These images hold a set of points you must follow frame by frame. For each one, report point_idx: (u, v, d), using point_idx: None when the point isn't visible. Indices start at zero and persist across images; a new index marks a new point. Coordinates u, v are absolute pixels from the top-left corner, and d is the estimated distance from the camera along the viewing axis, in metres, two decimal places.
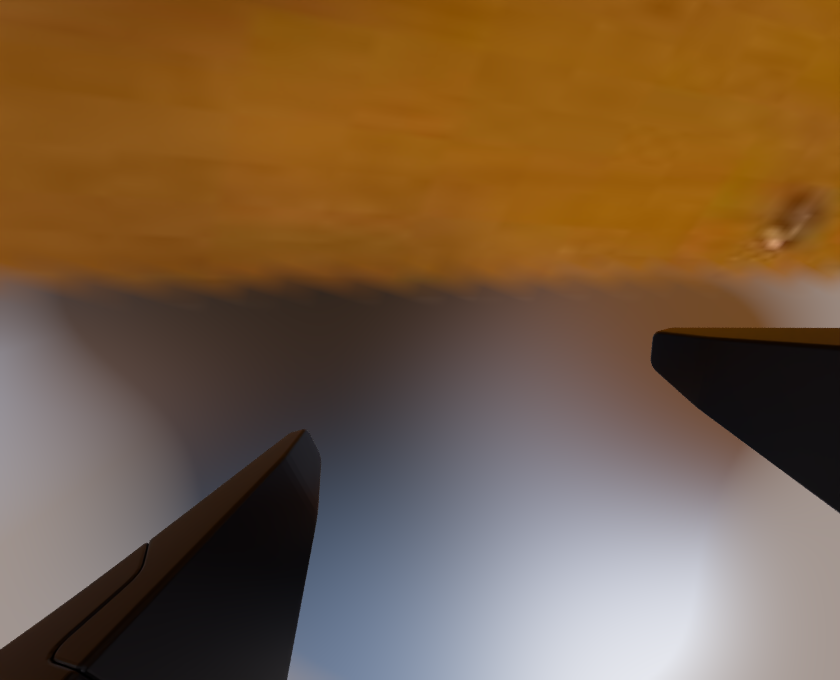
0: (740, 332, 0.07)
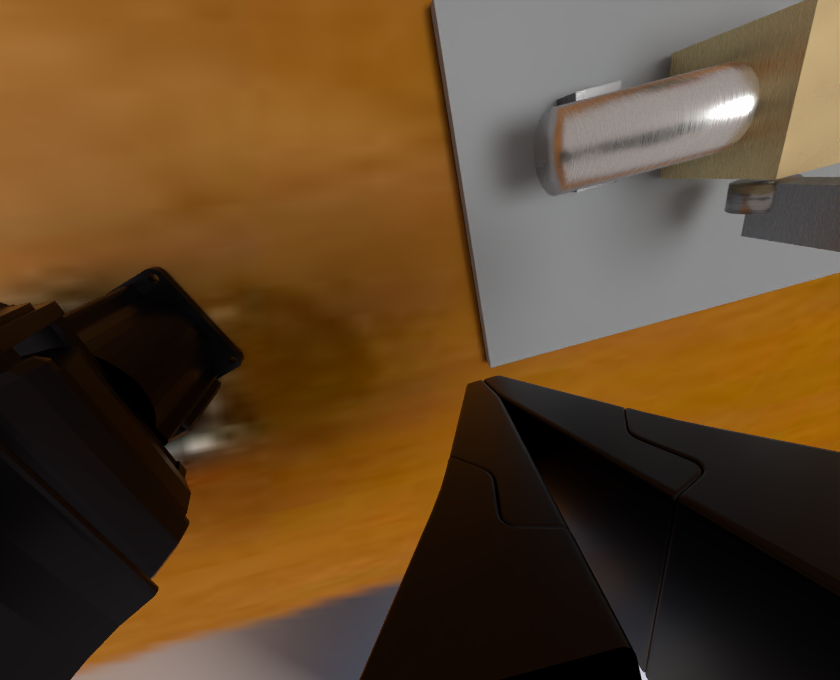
0: (526, 391, 0.07)
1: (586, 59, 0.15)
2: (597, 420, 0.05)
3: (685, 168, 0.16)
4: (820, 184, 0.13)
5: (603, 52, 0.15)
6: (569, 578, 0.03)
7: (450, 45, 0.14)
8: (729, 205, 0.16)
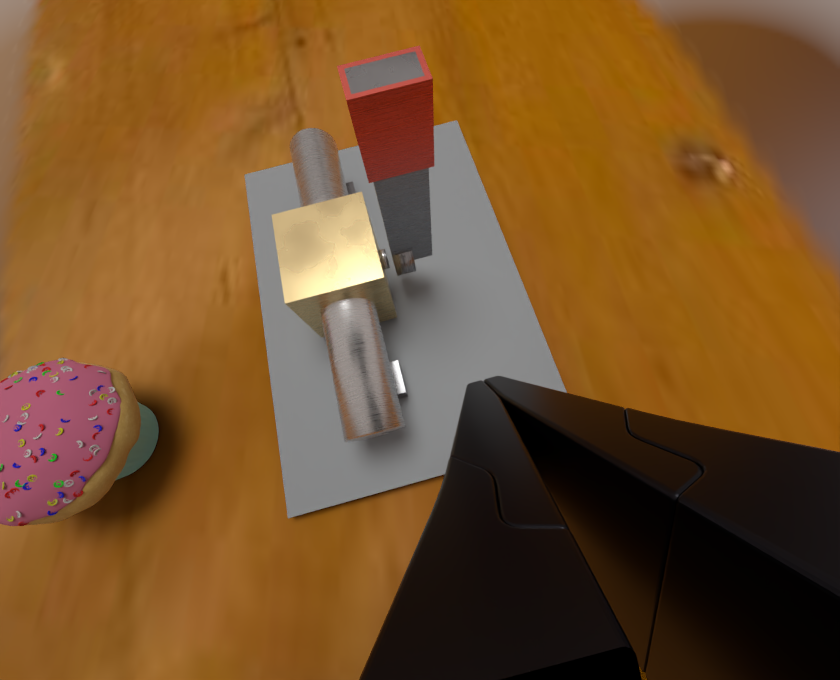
0: (526, 391, 0.07)
1: (324, 395, 0.22)
2: (597, 420, 0.05)
3: (387, 310, 0.21)
4: (388, 239, 0.18)
5: (320, 384, 0.22)
6: (569, 578, 0.03)
7: (313, 503, 0.20)
8: (410, 272, 0.21)
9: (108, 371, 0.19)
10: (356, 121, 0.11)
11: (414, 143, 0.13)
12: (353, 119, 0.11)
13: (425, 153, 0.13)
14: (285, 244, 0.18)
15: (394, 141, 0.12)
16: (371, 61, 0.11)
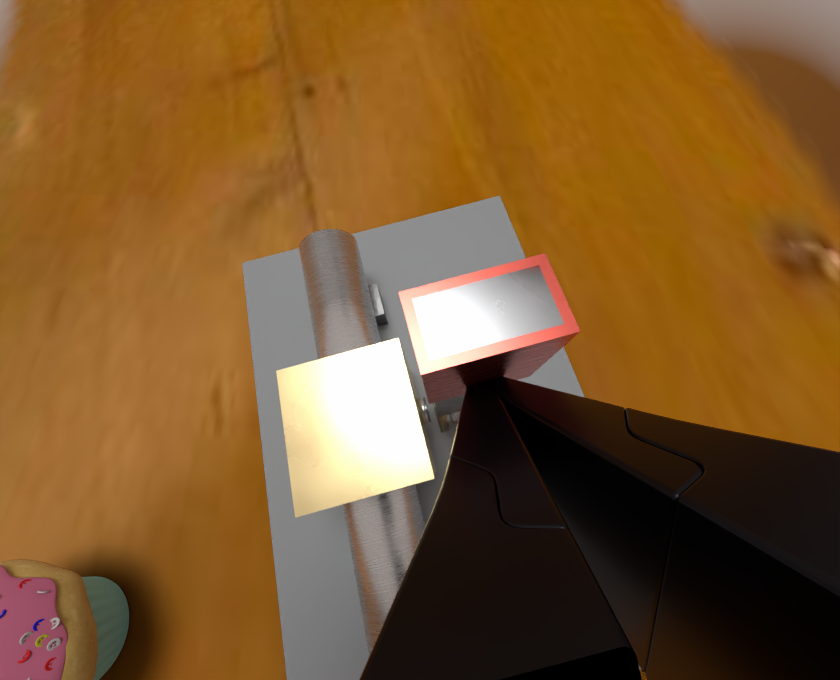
0: (526, 391, 0.07)
1: (343, 580, 0.17)
2: (597, 420, 0.05)
3: None
4: (436, 411, 0.13)
5: (338, 563, 0.17)
6: (569, 578, 0.03)
7: None
8: None
9: (53, 585, 0.14)
10: (430, 381, 0.06)
11: (512, 372, 0.08)
12: (426, 382, 0.06)
13: (523, 373, 0.08)
14: (294, 419, 0.13)
15: (483, 378, 0.07)
16: (460, 283, 0.06)
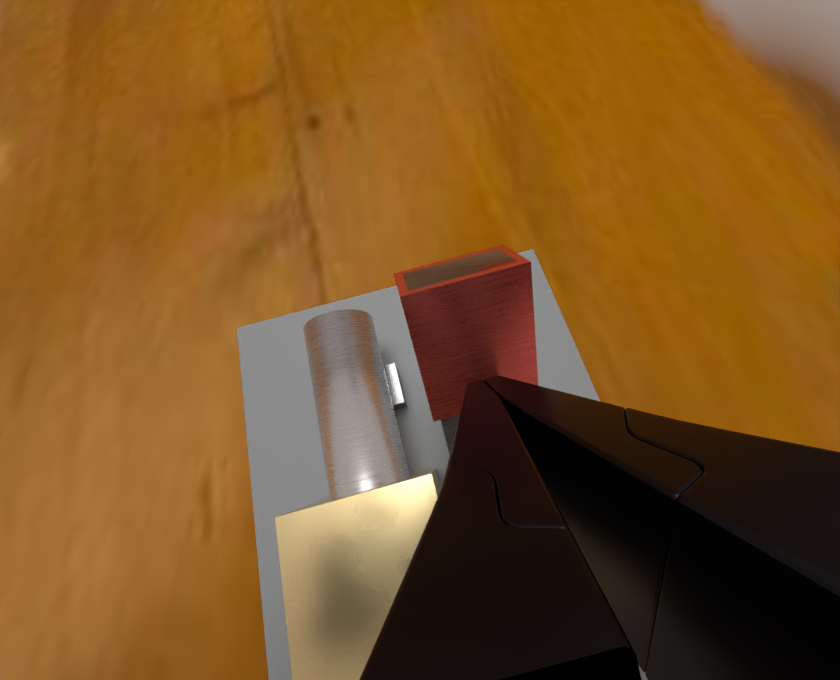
0: (526, 391, 0.07)
1: None
2: (597, 420, 0.05)
3: None
4: None
5: None
6: (569, 578, 0.03)
7: None
8: None
9: None
10: (414, 327, 0.07)
11: (505, 357, 0.08)
12: (410, 324, 0.07)
13: (523, 372, 0.08)
14: (299, 590, 0.10)
15: (474, 355, 0.08)
16: (439, 263, 0.08)
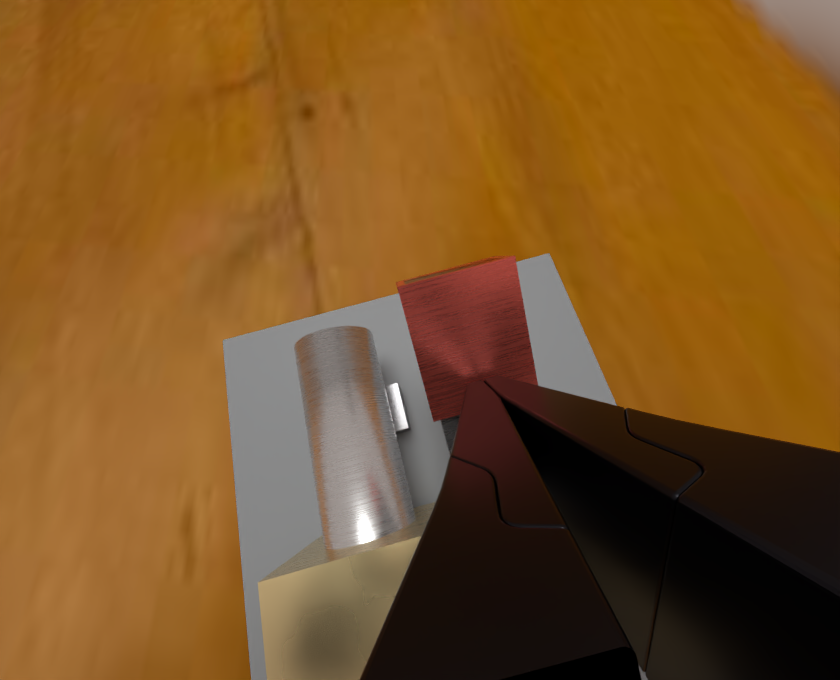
0: (526, 391, 0.07)
1: None
2: (597, 420, 0.05)
3: None
4: None
5: None
6: (570, 578, 0.03)
7: None
8: None
9: None
10: (411, 317, 0.08)
11: (501, 352, 0.08)
12: (407, 314, 0.08)
13: (521, 369, 0.08)
14: (286, 674, 0.08)
15: (469, 348, 0.08)
16: None
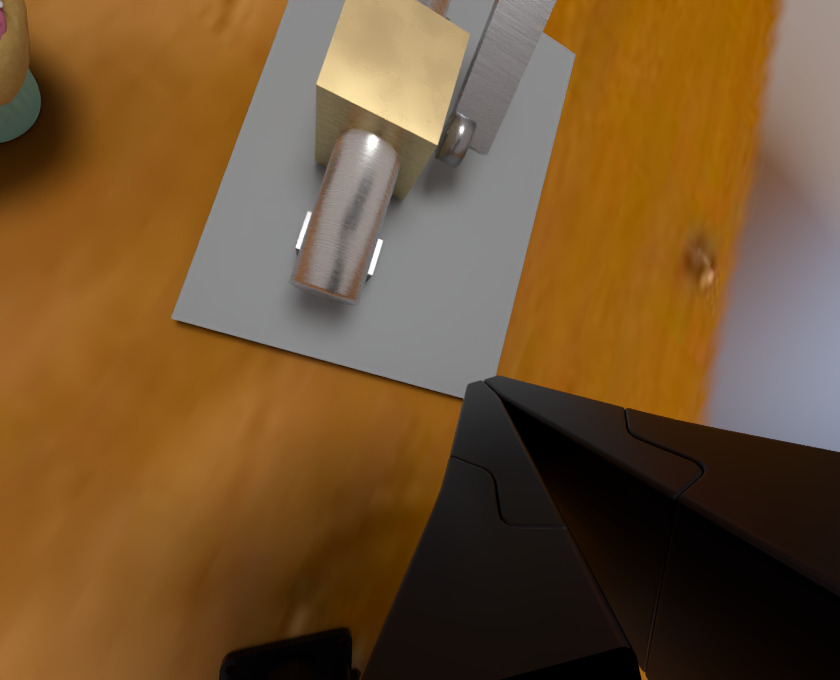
0: (526, 391, 0.07)
1: (281, 223, 0.18)
2: (597, 420, 0.05)
3: (403, 185, 0.18)
4: (469, 76, 0.16)
5: (284, 209, 0.18)
6: (569, 578, 0.03)
7: (209, 321, 0.17)
8: (461, 148, 0.17)
9: None
10: None
11: None
12: None
13: None
14: (354, 15, 0.14)
15: None
16: None
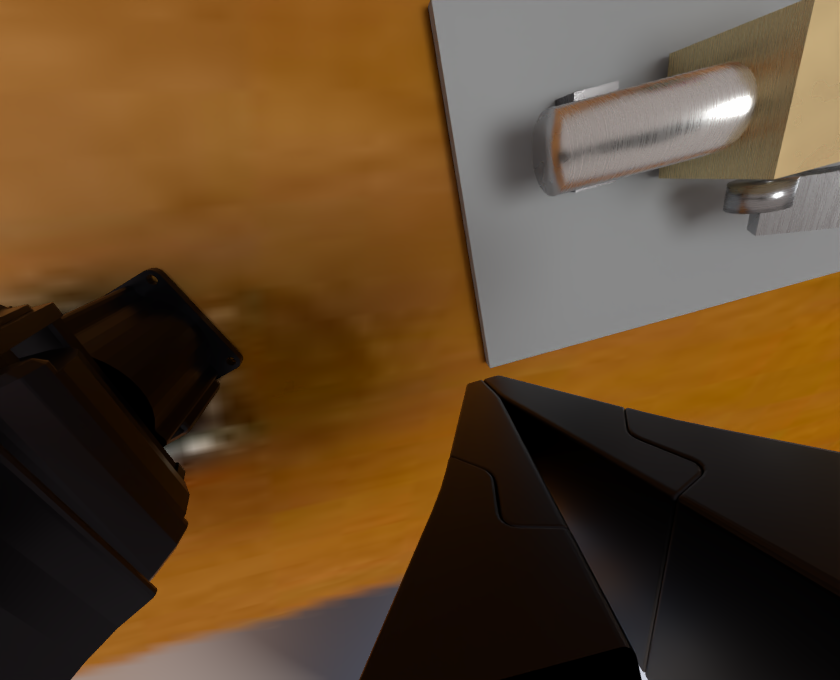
0: (526, 391, 0.07)
1: (584, 59, 0.15)
2: (597, 420, 0.05)
3: (683, 168, 0.16)
4: None
5: (600, 52, 0.15)
6: (569, 578, 0.03)
7: (448, 45, 0.14)
8: (756, 205, 0.15)
9: None
10: None
11: None
12: None
13: None
14: None
15: None
16: None
